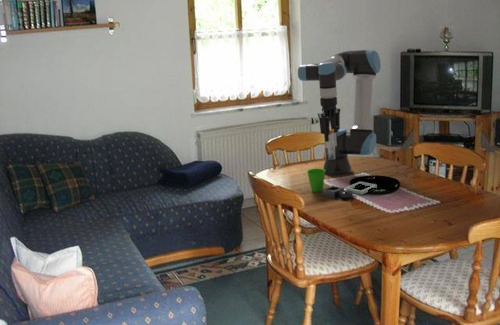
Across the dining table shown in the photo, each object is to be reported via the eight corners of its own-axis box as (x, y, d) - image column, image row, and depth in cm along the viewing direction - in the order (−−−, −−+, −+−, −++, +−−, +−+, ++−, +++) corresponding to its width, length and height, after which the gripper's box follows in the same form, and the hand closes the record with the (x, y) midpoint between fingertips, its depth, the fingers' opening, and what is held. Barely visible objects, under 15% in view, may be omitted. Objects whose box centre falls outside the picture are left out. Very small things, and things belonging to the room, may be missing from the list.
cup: (326, 195, 284) (324, 173, 281) (307, 195, 286) (305, 173, 283) (327, 189, 293) (326, 168, 290) (309, 189, 295) (307, 168, 292)
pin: (331, 157, 279) (329, 127, 276) (337, 158, 277) (336, 128, 273) (326, 159, 277) (324, 129, 273) (332, 160, 274) (330, 130, 270)
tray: (360, 186, 293) (359, 181, 292) (376, 189, 286) (376, 184, 285) (344, 192, 285) (344, 188, 285) (361, 196, 278) (361, 191, 277)
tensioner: (332, 192, 288) (332, 182, 286) (357, 197, 277) (357, 187, 275) (320, 197, 282) (319, 187, 281) (345, 203, 271) (344, 193, 270)
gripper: (333, 93, 277) (336, 142, 283) (310, 99, 267) (313, 149, 273) (346, 94, 272) (348, 143, 278) (322, 100, 261) (325, 151, 267)
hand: (331, 146), depth 275 cm, fingers closed on pin, 3 cm apart
